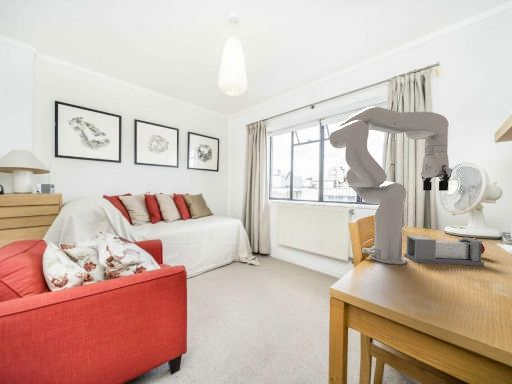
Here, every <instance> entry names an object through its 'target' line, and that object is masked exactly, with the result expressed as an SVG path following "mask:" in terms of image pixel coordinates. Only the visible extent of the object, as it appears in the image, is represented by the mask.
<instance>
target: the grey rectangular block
mask: <svg viewBox="0 0 512 384" xmlns="http://www.w3.org/2000/svg"><path fill="white" fill-rule="evenodd" d="M435 258H452V259H470V243H469V242H459V241H451V240H436V255H435Z"/></svg>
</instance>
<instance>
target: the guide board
mask: <svg viewBox="0 0 512 384" xmlns="http://www.w3.org/2000/svg"><path fill="white" fill-rule="evenodd" d="M436 241H437V240H436V239H435V238H431V237H428V236H426V235H425V236H424V235H406V253H405V252H404V253H403V257H404V258H406V259H409V260H411V261H413V263H420V264H421V263H422V264H441V265H464V266H465V265H466V266H467V265H468V266H485V262H484V261H482V260H481V262H476V261H470V259H452V258H435V255H436Z"/></svg>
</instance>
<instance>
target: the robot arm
mask: <svg viewBox="0 0 512 384" xmlns="http://www.w3.org/2000/svg"><path fill="white" fill-rule="evenodd" d="M449 124H450V123H449V120H448V118H447V117H445V116H444V115H442V114H440V113H436V112H432V111H404V112H402V111H396V110H392V109H389V108H385V107H380V106H376V105H375V106H370V107H366V108H365V109H363V110H360V111H359V112H357V113H354V114H353V115H351V116H350V117H349V118H347V119H346V120H345V121H343V122H342V123H341V124H339V125H338V126H337V127H335V129H333V130H332V131H331V132H330V135H329V143H330V145H331V147H333V148H336V149H344V148H345V152H344V153H345V162H346V164H347V166H348V167H349V169H348V170H347V171H346V181H347V184H348V185H349V187H350V188H351V189H352V190H353V191H354V192H355V194H356V195H358V196H359V198H360V199H362V200H363V201H364V202H365V203H366V204H372V205H378V207H377V209H376V211H375V213H374V244H373V245H372V246H371V247H369V248H367V247H362V248H361V253H363V254H367V255H369V257H370V258H371V259H372V260H373V261H376V262H379V263H383V264H389V265H405V264H406V263H407V257H405V256H403V251H402V250H403V213H404V207H405V206H404V205H405V202H406V198H407V190H406V188H405V187H404V185H403V184H402V183H399V182H396V181H387V178H388V177H387V174H386V171H385V170H384V169H383V167H382V166H381V165H380V164H379V163H378V162H377V160H376V159H375V158H374V157H373V156H372V154H371V153H370V152H369V149H368V138H369V132H370V131H378V132H381V133H386V134H392V135H396V134H404V133H405V135H406V137H407V138H408V139H410V140H414V141H415V140H416V141H417V140H424V156H423V159H422V164H421V165H422V166H421V172H420V175H421V179H422V191H429V192H430V191H432V189H433V188H432V186H433V184H432V183H433V182H432V180H433V178H438V179H439V180H438V191H440V192H441V191H443V192H445V191H446V192H447V191H449V181H450V179H451V177H452V173H453V171H454V170H453V169H452V168H450V166H449V165H450V163H449V155H448V149H449V148H448V144H449V143H448V141H449V139H448V138H449Z"/></svg>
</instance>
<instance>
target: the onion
mask: <svg viewBox="0 0 512 384" xmlns="http://www.w3.org/2000/svg"><path fill="white" fill-rule="evenodd" d="M472 239H475V240H478V239H477V238H476V237H473V238H472ZM485 250H486V248H485V245H484V244H483V243H482V244H481V255H482V254H484V253H485Z"/></svg>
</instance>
